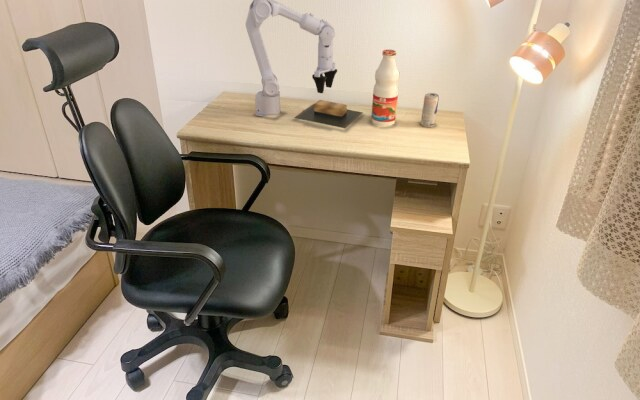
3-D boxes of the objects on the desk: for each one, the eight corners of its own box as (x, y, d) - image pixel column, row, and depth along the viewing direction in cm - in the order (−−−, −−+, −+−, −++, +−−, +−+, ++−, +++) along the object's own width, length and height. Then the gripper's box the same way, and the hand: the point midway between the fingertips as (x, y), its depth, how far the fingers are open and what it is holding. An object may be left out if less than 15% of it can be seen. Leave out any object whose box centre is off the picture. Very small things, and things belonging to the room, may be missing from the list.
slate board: (294, 120, 189) (294, 117, 188) (314, 105, 202) (314, 103, 202) (345, 131, 181) (345, 128, 180) (363, 115, 194) (363, 112, 194)
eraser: (314, 113, 192) (314, 103, 190) (319, 109, 196) (319, 99, 193) (341, 119, 188) (341, 108, 185) (346, 114, 191) (347, 104, 189)
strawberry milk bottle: (398, 121, 190) (405, 49, 175) (390, 129, 182) (398, 56, 167) (375, 117, 193) (381, 46, 178) (367, 125, 186) (372, 52, 171)
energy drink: (436, 123, 188) (440, 94, 182) (432, 128, 184) (437, 98, 178) (422, 121, 190) (426, 91, 184) (419, 125, 186) (423, 96, 179)
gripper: (326, 61, 177) (325, 97, 185) (342, 52, 188) (341, 86, 196) (309, 59, 180) (309, 94, 187) (326, 50, 191) (325, 83, 198)
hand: (324, 89), depth 192 cm, fingers open, 7 cm apart
